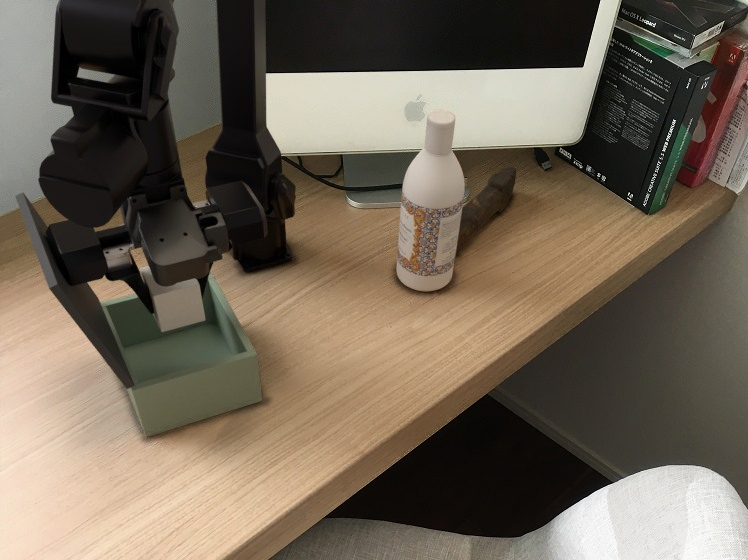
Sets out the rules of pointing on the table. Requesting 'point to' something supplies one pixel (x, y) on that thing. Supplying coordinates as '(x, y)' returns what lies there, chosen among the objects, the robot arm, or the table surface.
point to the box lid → (74, 295)
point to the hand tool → (486, 203)
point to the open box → (185, 362)
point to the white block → (174, 302)
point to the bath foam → (431, 209)
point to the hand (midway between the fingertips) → (175, 304)
